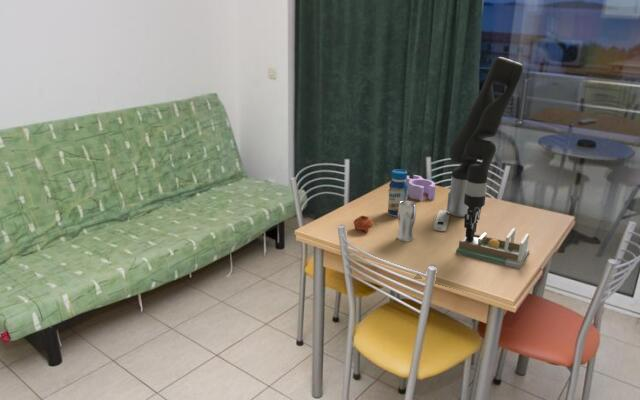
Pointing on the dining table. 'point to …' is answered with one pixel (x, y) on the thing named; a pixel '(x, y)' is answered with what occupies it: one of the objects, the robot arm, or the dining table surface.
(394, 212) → the beverage bottle
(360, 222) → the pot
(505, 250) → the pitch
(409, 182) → the clip
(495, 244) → the ball
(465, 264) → the dining table surface
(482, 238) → the slider
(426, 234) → the dining table surface
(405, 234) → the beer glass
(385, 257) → the dining table surface
